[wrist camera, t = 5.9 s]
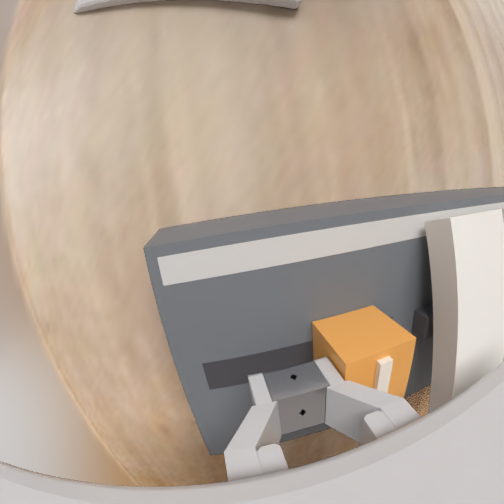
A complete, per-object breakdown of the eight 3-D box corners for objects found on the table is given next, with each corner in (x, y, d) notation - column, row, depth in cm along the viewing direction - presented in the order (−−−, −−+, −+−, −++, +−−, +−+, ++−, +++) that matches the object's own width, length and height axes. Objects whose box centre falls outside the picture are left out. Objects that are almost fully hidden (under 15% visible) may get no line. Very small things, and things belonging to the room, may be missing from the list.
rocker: (478, 212, 11) (503, 208, 9) (478, 387, 11) (498, 396, 9) (424, 221, 10) (452, 217, 9) (426, 422, 10) (446, 436, 9)
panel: (502, 186, 16) (547, 193, 12) (492, 306, 19) (529, 325, 14) (159, 229, 13) (137, 255, 8) (205, 406, 16) (212, 469, 11)
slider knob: (372, 305, 11) (420, 341, 8) (368, 364, 12) (405, 405, 9) (312, 321, 11) (349, 368, 8) (313, 382, 12) (343, 432, 8)
